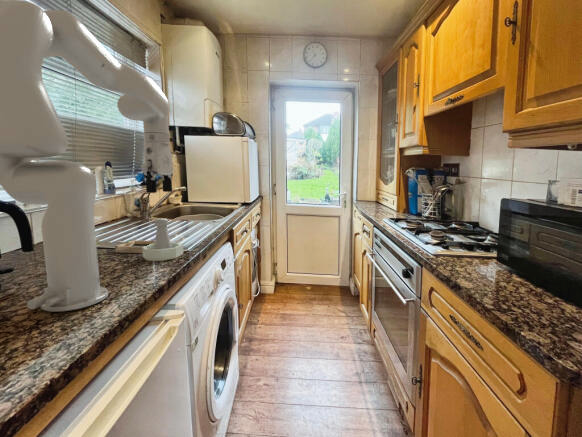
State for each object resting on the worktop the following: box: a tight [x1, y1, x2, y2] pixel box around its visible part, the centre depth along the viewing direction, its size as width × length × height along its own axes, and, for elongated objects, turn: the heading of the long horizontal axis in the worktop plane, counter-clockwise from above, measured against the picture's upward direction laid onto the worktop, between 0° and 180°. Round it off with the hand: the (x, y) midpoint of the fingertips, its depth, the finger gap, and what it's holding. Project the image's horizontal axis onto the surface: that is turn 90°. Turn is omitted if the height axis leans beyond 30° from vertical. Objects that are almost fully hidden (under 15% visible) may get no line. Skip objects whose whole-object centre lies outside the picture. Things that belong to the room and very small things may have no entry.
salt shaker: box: [154, 217, 172, 249], centre depth 102 cm, size 6×6×13 cm
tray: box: [114, 239, 155, 254], centre depth 111 cm, size 11×11×2 cm
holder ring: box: [142, 242, 184, 262], centre depth 102 cm, size 12×12×4 cm
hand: (160, 192), depth 100 cm, fingers open, 9 cm apart
